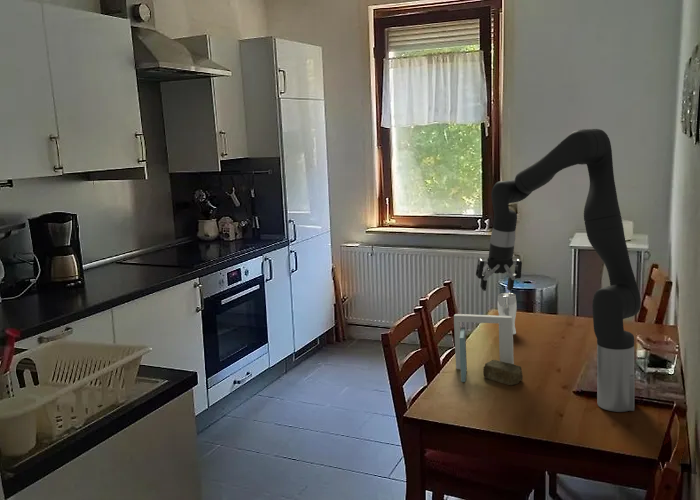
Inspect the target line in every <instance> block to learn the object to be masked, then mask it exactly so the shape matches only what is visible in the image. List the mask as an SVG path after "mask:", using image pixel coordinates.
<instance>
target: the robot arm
mask: <svg viewBox="0 0 700 500" xmlns="http://www.w3.org/2000/svg"><path fill="white" fill-rule="evenodd" d="M612 151H613V150H612V144H611V140H610V137H609V135H608V134H607V132H606V131H604V130H603V129H599V128H587V129H585V128H583V129H578V130H574V131H572V132H570V133H569V134H568V135H567V136H566V137H565V138H564V139H562V140H560V142H559V143H558V144H557V145H556V146H554V148H552V149H551V150H550V151H549V152H548V153H546V154H545V155H544V156H542V157H541V158H540V159H538V160H537V161H535V162H533V163H531V164H530V165H528V166H527V167H526V168H524V169H522V170H520V171H519V172H518V173H517V174H516V175H515V178H514V179H510V180H501V181H500V180H499V181H497V182H496V183H495V184H494V185H493V187H492V189H491V202H492V203H491V204H492V209H493V221H492V222H493V223H492V224H493V225H492V231H491V234H490V239H489V241H490V242H489V249H488V257H487V259H482V258H478V261H477V266H476V272H475V275H476V277H477V278H478V279H480V288H481V290H482V291H483V292H486V291H487V284H488V279H489V278H490V277H491V276H493V275H494V274H505V273H506V274H507V276H508V278H507V286H506V289H507V290H508V291H509V292H511V291H512V290H513V288H514V284H515V280H516V279H521V277H522V269H523V267H522V265H523V261H522V260H521V259H520V258H515V259H513V257H514V252H515V244H516V243H515V242H516V231H517V223H518V213H517V212H516V211H514V210H513V209H510V207H509V204H513V203H519V202H521V201H524V200H525V199H526V198H527V197H528V196H530V195H531V194H532V193H533V192H535V191H536V190H537V189H540V188H542V187H543V186H545V185H546V184H548V183H549V182H551V181H552V179H553V178H554V177H555V176H556V175H557V173H558V172H561V171H563V170H564V169H567V168H569V167H574V166H575V165H581V166H582V165H586V167H587V170H588V171H587V172H588V178H589V189H588V193H587V196H586V199H585V200H586V201H585V203H584V204H585V205H584V209H583V220H584V225H585V226H584V227H585V231H586V236H587V237H586V238H587V239H588V242H589V243H590V245H591V247H592V249H593V250H594V251H595V252H596V253H597V255H598V256H599V258H601V261H602V262H603V264H604V265H605V268H606V271H607V274H608V278H609V280H608V281H609V285H608V286H604V287H601V288H599V289H597V290H596V291H595V293H594V296H593V298H592V307H591V308H592V320H593V322H592V324H593V331H594V335H595V337H596V375H597V376H596V378H597V379H596V384H597V385H596V388H597V389H596V391H597V393H596V398H597V400H596V401H597V406H598V407H599V408H601V409H602V410H606V411H610V412H617V413H624V412H628V411H629V412H635V336H634V334H633V333H632V332H630V331H627V330H625V329H624V319H627V318H631V317H634V316H636V315H637V314H638V313H639V312H640V310H641V307H642V306H641V305H642V302H641V301H642V299H641V294H640V290H639V286H638V283H637V280H636V277H635V274H634V270H633V267H632V263H631V260H630V256H629V255H630V254H629V251H628V246H627V242H626V236H625V230H624V224H623V218H622V213H621V210H620V205H619V198H618V193H617V187H616V182H615V175H614V174H615V173H614V164H613V152H612ZM486 265H487V267H486V268H485V269H484V267H485V266H486ZM512 266H514V273H513V272H512V270H511V267H512Z"/></svg>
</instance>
